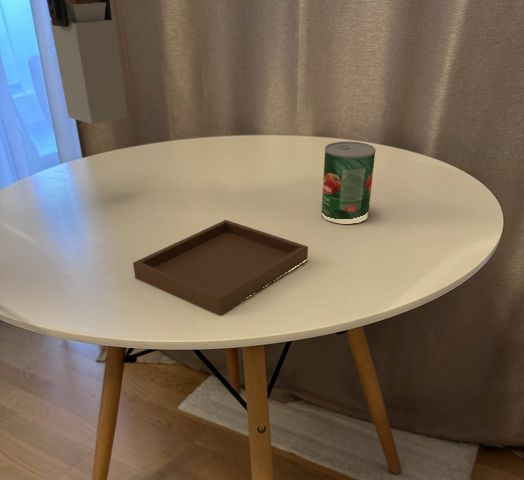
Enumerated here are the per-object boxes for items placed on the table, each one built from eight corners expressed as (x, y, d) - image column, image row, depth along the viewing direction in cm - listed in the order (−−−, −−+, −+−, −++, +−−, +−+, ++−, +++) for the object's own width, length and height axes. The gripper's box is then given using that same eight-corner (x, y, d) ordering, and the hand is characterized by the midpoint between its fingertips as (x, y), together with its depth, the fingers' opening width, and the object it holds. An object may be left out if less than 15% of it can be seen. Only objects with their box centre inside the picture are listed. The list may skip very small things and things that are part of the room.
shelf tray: (219, 315, 66) (219, 299, 65) (135, 277, 74) (132, 262, 73) (307, 261, 78) (308, 246, 77) (226, 233, 86) (225, 219, 85)
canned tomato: (378, 218, 91) (386, 150, 84) (341, 228, 87) (347, 158, 81) (347, 203, 96) (352, 138, 90) (311, 213, 93) (314, 146, 86)
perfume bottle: (91, 124, 85) (68, -15, 75) (68, 117, 89) (43, -16, 78) (127, 116, 89) (110, -16, 79) (104, 110, 93) (84, -17, 82)
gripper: (92, -126, 79) (112, 18, 89) (-22, -140, 67) (16, 27, 78) (127, -130, 75) (144, 21, 85) (13, -146, 64) (47, 30, 74)
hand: (82, 22), depth 81 cm, fingers closed on perfume bottle, 7 cm apart
